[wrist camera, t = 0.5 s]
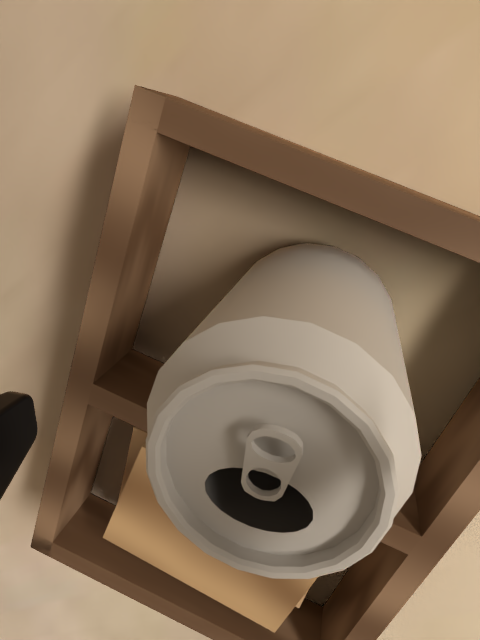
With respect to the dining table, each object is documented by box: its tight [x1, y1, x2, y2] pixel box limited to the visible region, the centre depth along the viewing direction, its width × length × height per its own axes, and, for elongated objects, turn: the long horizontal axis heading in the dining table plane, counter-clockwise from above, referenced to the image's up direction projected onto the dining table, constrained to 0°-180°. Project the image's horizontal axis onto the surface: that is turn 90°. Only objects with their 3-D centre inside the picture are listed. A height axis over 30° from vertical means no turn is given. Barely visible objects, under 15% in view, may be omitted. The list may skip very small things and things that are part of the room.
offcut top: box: [103, 441, 318, 633], centre depth 24 cm, size 7×10×2 cm, turn 66°
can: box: [146, 243, 422, 579], centre depth 16 cm, size 8×8×12 cm
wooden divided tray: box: [31, 85, 480, 640], centre depth 22 cm, size 25×18×4 cm
